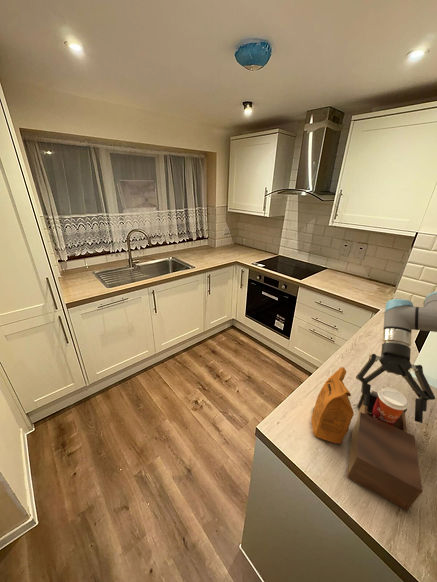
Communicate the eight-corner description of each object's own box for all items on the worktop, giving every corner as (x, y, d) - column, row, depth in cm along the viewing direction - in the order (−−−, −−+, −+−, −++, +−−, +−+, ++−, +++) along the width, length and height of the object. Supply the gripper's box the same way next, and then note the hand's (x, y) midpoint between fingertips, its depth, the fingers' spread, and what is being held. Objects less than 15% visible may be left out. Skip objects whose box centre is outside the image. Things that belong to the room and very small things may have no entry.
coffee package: (341, 416, 82) (360, 368, 72) (343, 449, 71) (365, 399, 62) (311, 405, 85) (325, 358, 76) (309, 436, 75) (325, 386, 65)
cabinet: (351, 431, 77) (360, 411, 73) (402, 455, 70) (414, 435, 66) (346, 477, 65) (356, 456, 61) (406, 511, 58) (422, 491, 54)
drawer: (358, 395, 89) (364, 380, 86) (397, 411, 83) (405, 395, 80) (354, 438, 74) (361, 421, 71) (401, 461, 68) (411, 444, 65)
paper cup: (367, 432, 75) (381, 401, 69) (363, 412, 81) (376, 382, 75) (396, 441, 72) (413, 410, 66) (389, 420, 79) (405, 390, 73)
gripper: (435, 356, 76) (434, 427, 70) (350, 337, 84) (343, 399, 78) (450, 354, 69) (451, 431, 63) (356, 333, 77) (348, 400, 71)
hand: (391, 413), depth 71 cm, fingers open, 13 cm apart
